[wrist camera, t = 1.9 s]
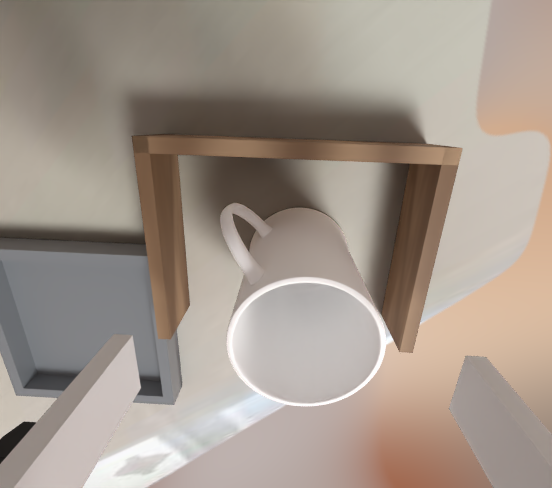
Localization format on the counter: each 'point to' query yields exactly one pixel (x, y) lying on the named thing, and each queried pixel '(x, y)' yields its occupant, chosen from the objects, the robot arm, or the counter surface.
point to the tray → (79, 315)
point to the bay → (422, 157)
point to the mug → (300, 310)
